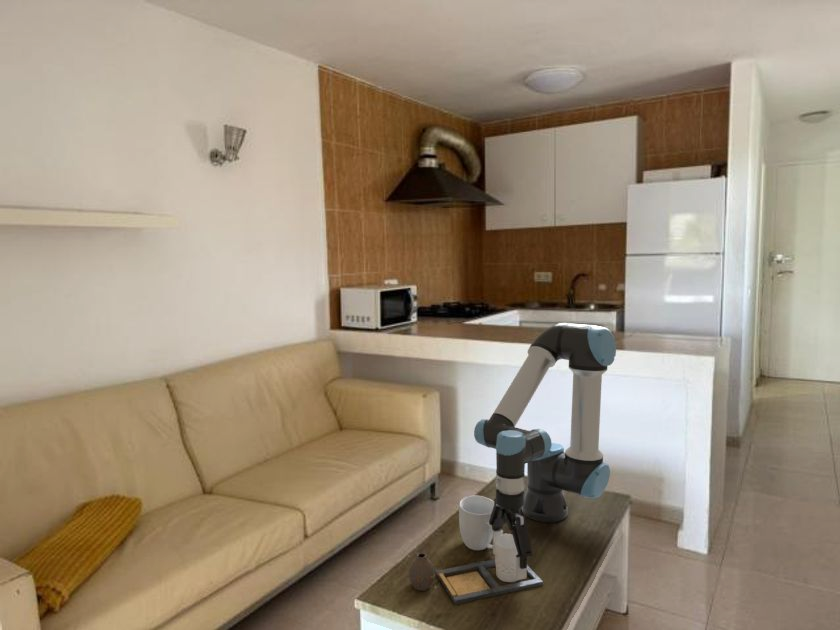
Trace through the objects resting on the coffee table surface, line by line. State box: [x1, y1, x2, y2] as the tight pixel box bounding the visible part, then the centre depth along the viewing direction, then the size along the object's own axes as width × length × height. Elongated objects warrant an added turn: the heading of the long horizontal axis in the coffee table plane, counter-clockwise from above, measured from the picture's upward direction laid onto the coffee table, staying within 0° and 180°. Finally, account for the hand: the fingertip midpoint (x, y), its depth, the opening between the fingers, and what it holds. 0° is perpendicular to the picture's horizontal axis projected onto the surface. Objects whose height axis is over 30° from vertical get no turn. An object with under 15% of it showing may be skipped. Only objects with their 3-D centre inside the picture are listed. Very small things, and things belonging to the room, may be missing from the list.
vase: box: [408, 552, 436, 592], centre depth 151 cm, size 7×7×9 cm
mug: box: [458, 495, 494, 551], centre depth 169 cm, size 15×11×13 cm
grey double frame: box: [435, 558, 544, 605], centre depth 154 cm, size 25×14×1 cm, turn 108°
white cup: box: [494, 533, 519, 583], centre depth 155 cm, size 8×8×10 cm
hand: (509, 565), depth 154 cm, fingers open, 13 cm apart
